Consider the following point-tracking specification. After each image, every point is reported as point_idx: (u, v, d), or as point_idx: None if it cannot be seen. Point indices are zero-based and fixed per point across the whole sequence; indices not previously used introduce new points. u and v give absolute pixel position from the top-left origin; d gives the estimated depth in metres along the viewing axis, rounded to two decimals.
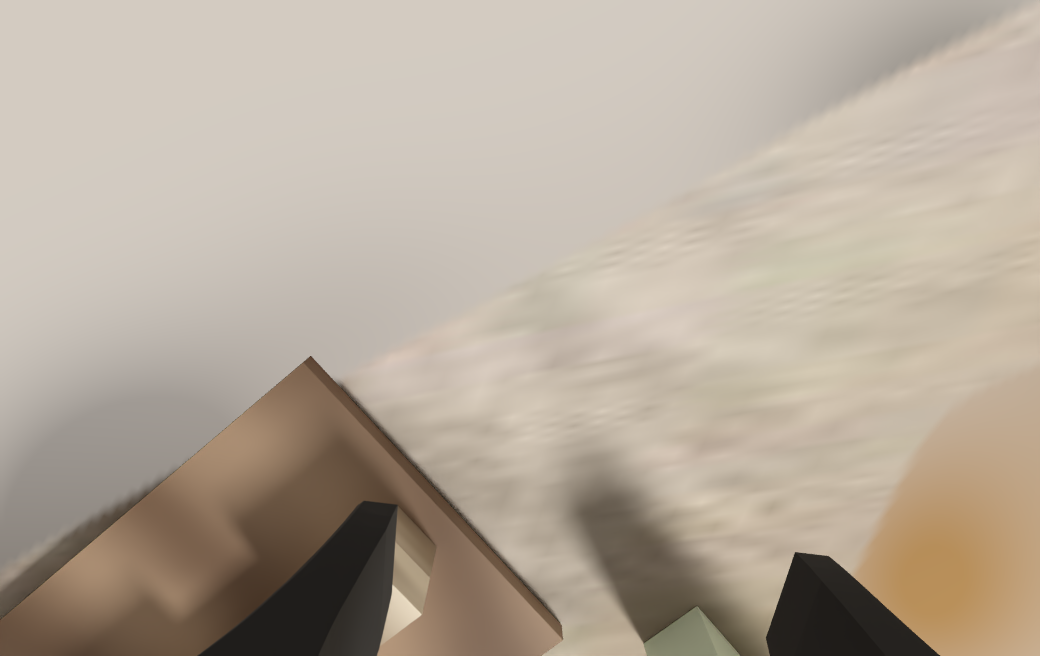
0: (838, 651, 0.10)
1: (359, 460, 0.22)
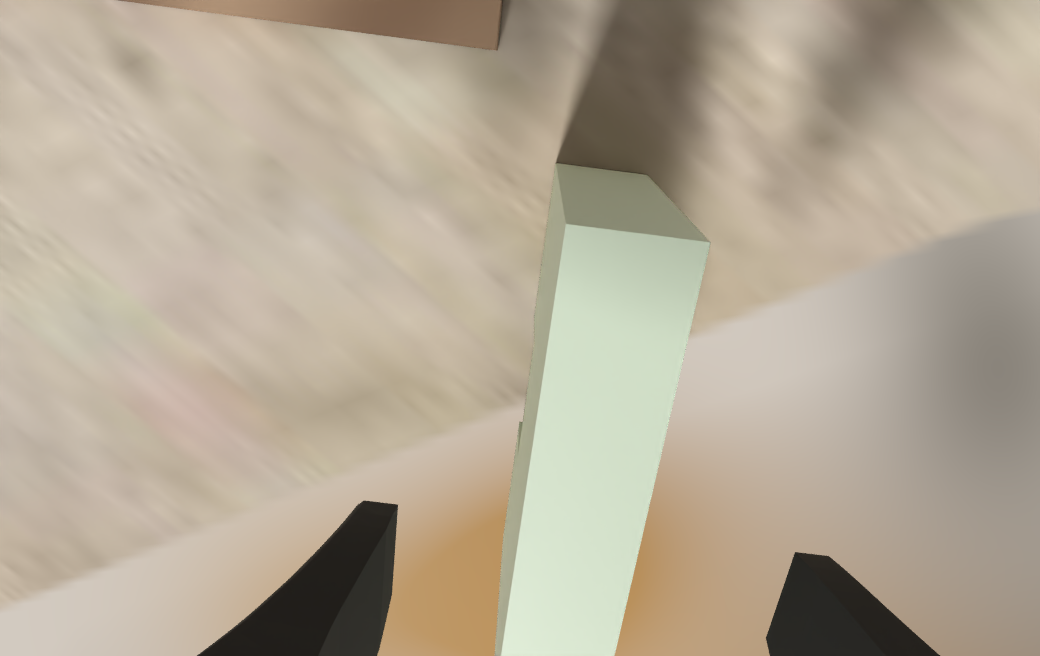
0: (838, 651, 0.10)
1: None
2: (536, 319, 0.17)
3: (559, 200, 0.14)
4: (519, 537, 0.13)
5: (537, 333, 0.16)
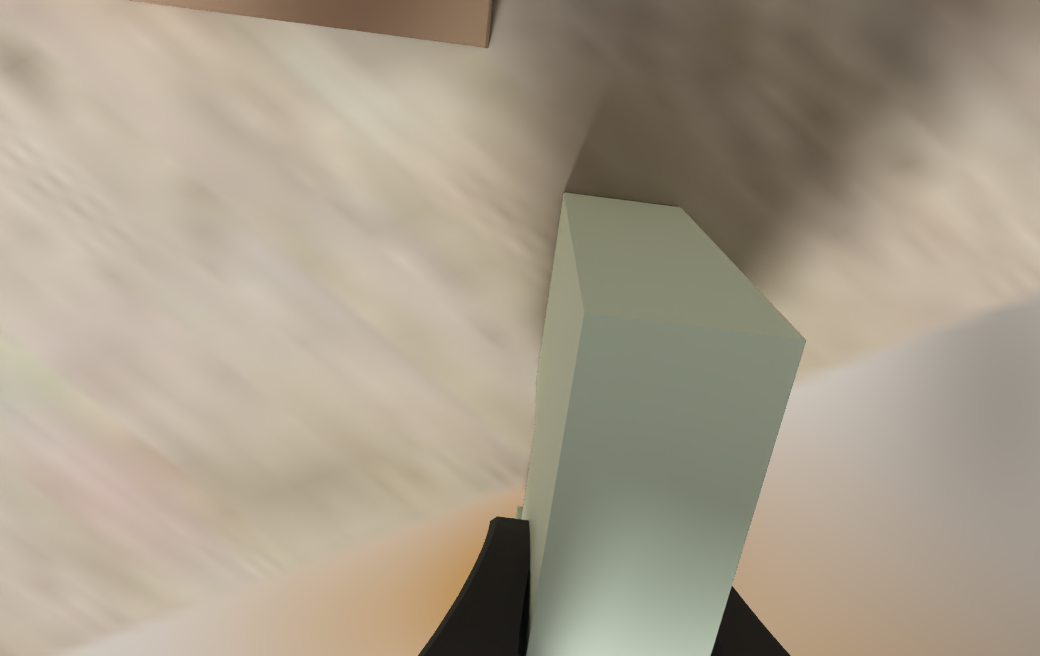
0: None
1: None
2: (538, 393, 0.14)
3: (571, 255, 0.10)
4: None
5: (540, 420, 0.12)
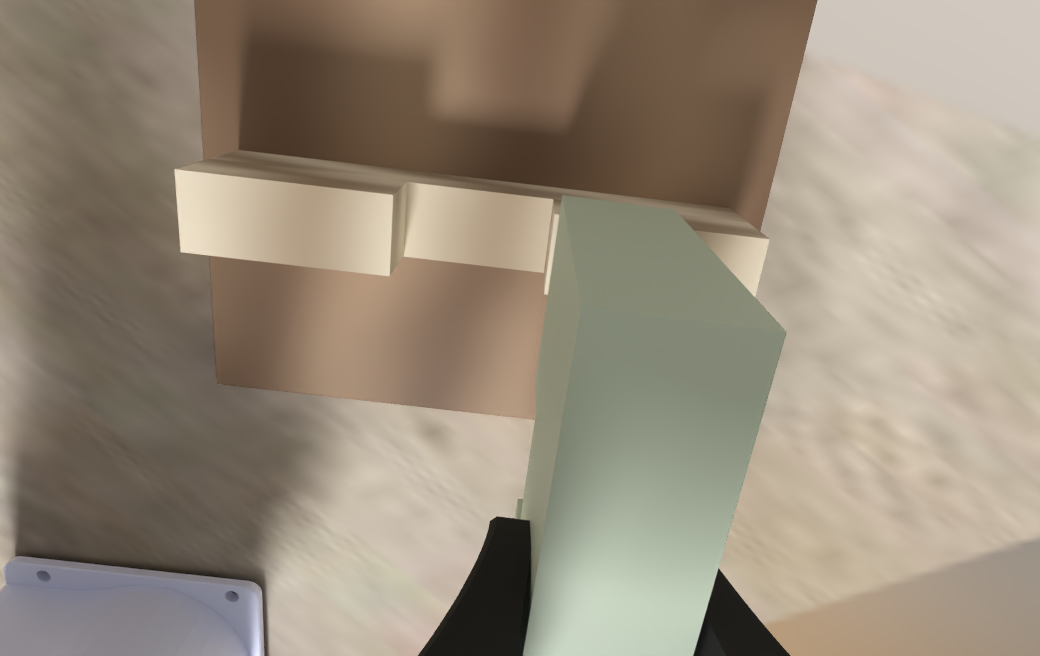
0: None
1: (750, 137, 0.19)
2: (538, 388, 0.14)
3: (569, 255, 0.10)
4: None
5: (539, 413, 0.13)
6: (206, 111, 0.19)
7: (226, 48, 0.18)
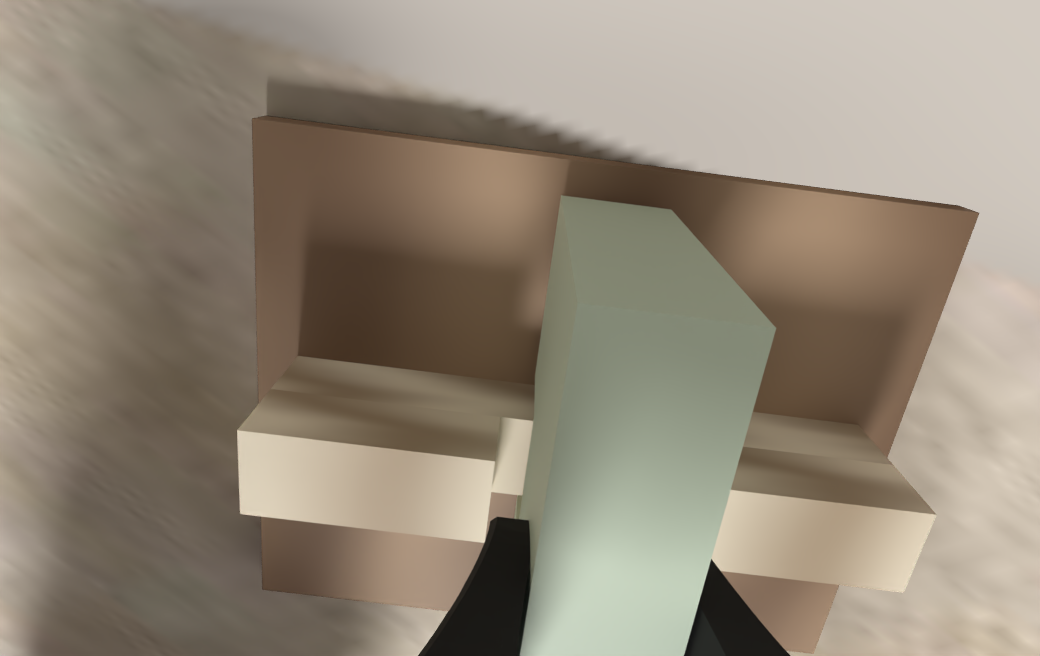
0: None
1: (887, 353, 0.16)
2: (537, 384, 0.14)
3: (566, 253, 0.11)
4: None
5: (538, 408, 0.13)
6: (262, 315, 0.16)
7: (288, 251, 0.16)
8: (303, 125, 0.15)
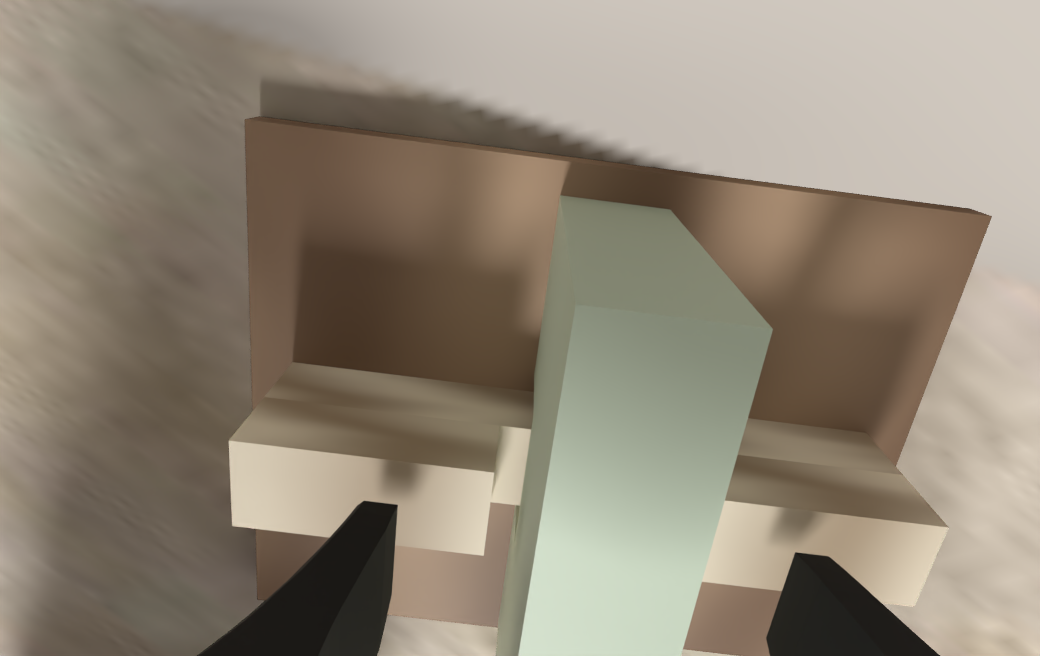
0: (839, 651, 0.10)
1: (897, 360, 0.16)
2: (536, 384, 0.15)
3: (565, 254, 0.11)
4: None
5: (537, 408, 0.13)
6: (256, 321, 0.16)
7: (283, 255, 0.15)
8: (297, 126, 0.14)
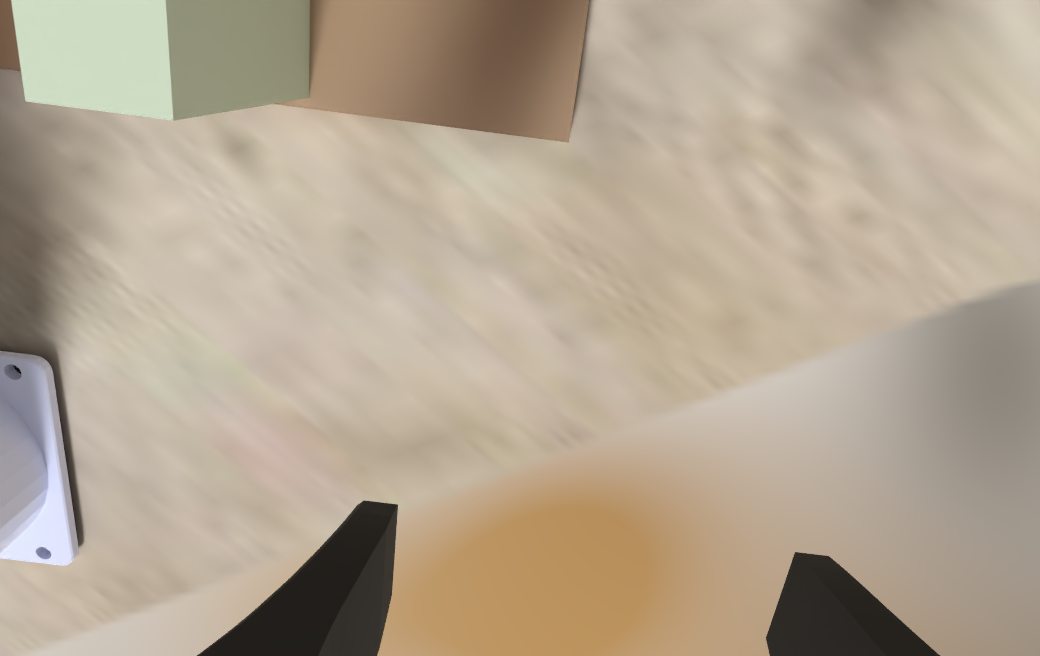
0: (838, 652, 0.10)
1: None
2: None
3: None
4: None
5: None
6: None
7: None
8: None
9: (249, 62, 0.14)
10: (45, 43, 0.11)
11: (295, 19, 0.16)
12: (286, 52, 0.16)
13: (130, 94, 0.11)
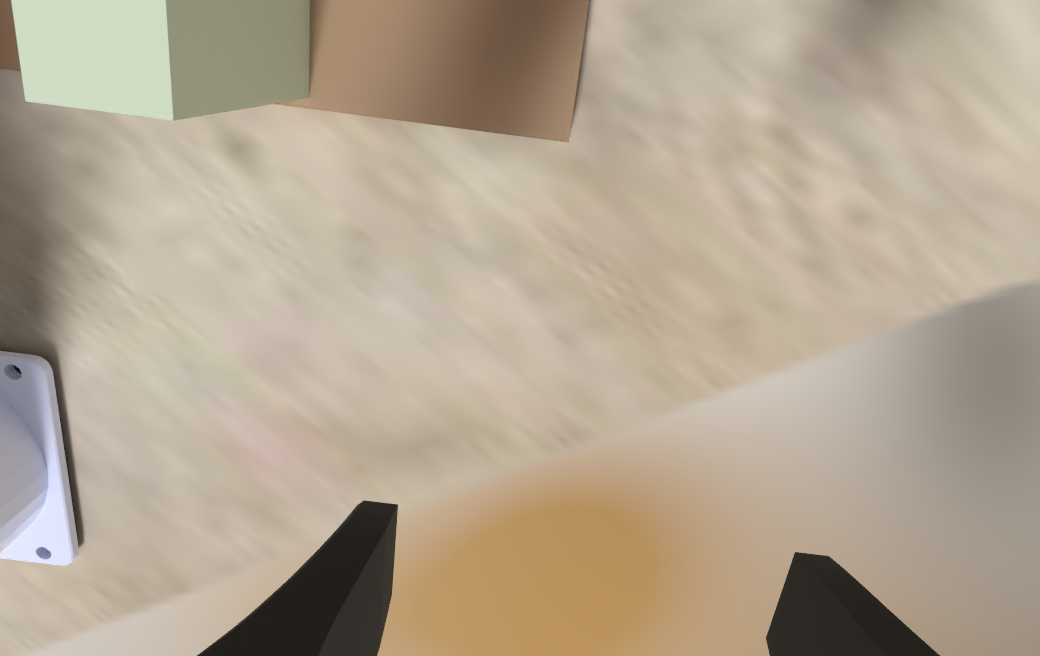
0: (838, 652, 0.10)
1: None
2: None
3: None
4: None
5: None
6: None
7: None
8: None
9: (249, 62, 0.14)
10: (45, 43, 0.11)
11: (295, 19, 0.16)
12: (286, 52, 0.16)
13: (130, 94, 0.11)
